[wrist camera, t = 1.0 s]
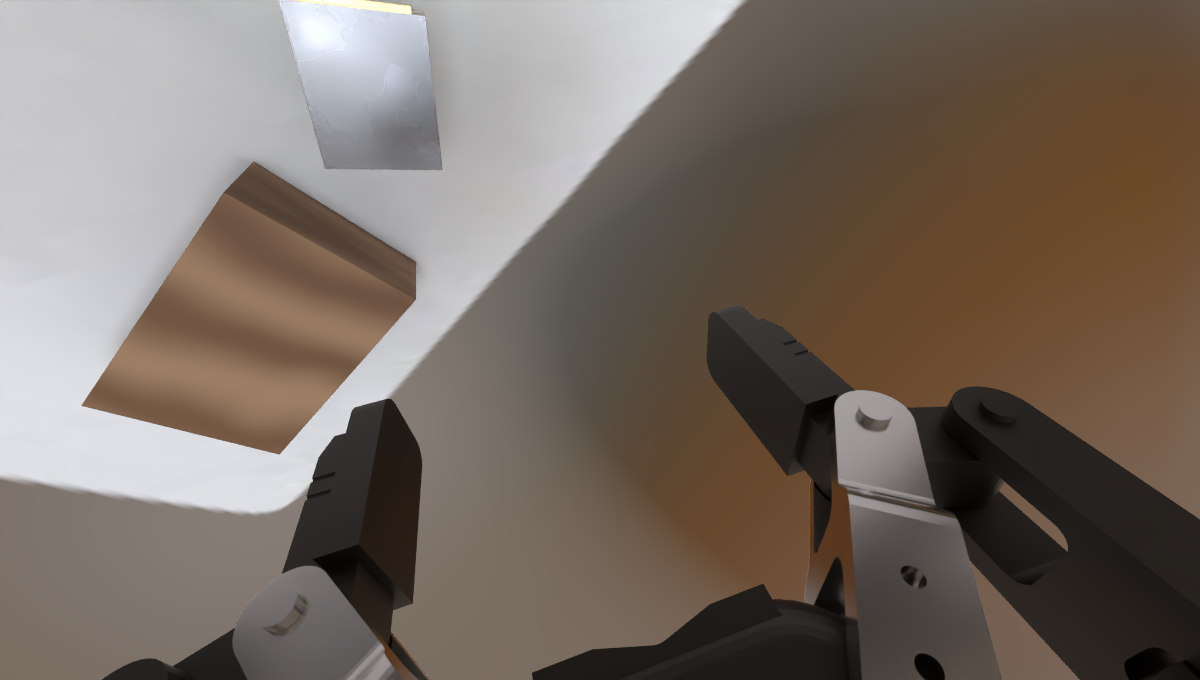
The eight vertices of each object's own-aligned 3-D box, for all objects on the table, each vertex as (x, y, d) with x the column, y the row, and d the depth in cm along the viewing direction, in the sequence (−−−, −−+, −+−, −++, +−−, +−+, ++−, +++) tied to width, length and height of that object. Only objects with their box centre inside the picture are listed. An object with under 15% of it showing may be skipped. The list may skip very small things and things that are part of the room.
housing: (344, 131, 24) (325, 168, 19) (311, -9, 20) (276, -10, 15) (437, 134, 26) (442, 170, 21) (422, 5, 22) (424, 8, 17)
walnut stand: (294, 404, 34) (279, 454, 30) (126, 350, 27) (81, 405, 24) (415, 262, 30) (415, 299, 26) (253, 161, 24) (223, 192, 20)
